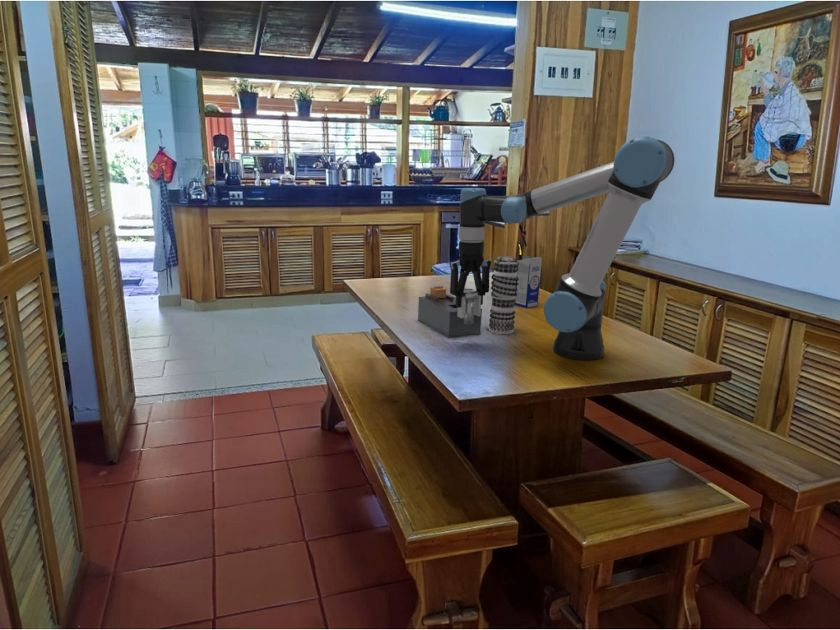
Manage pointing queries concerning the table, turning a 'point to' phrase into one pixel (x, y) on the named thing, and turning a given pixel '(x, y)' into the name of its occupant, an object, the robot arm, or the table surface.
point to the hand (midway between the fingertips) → (468, 316)
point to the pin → (469, 306)
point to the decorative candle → (503, 295)
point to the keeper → (438, 292)
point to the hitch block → (445, 316)
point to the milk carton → (528, 282)
